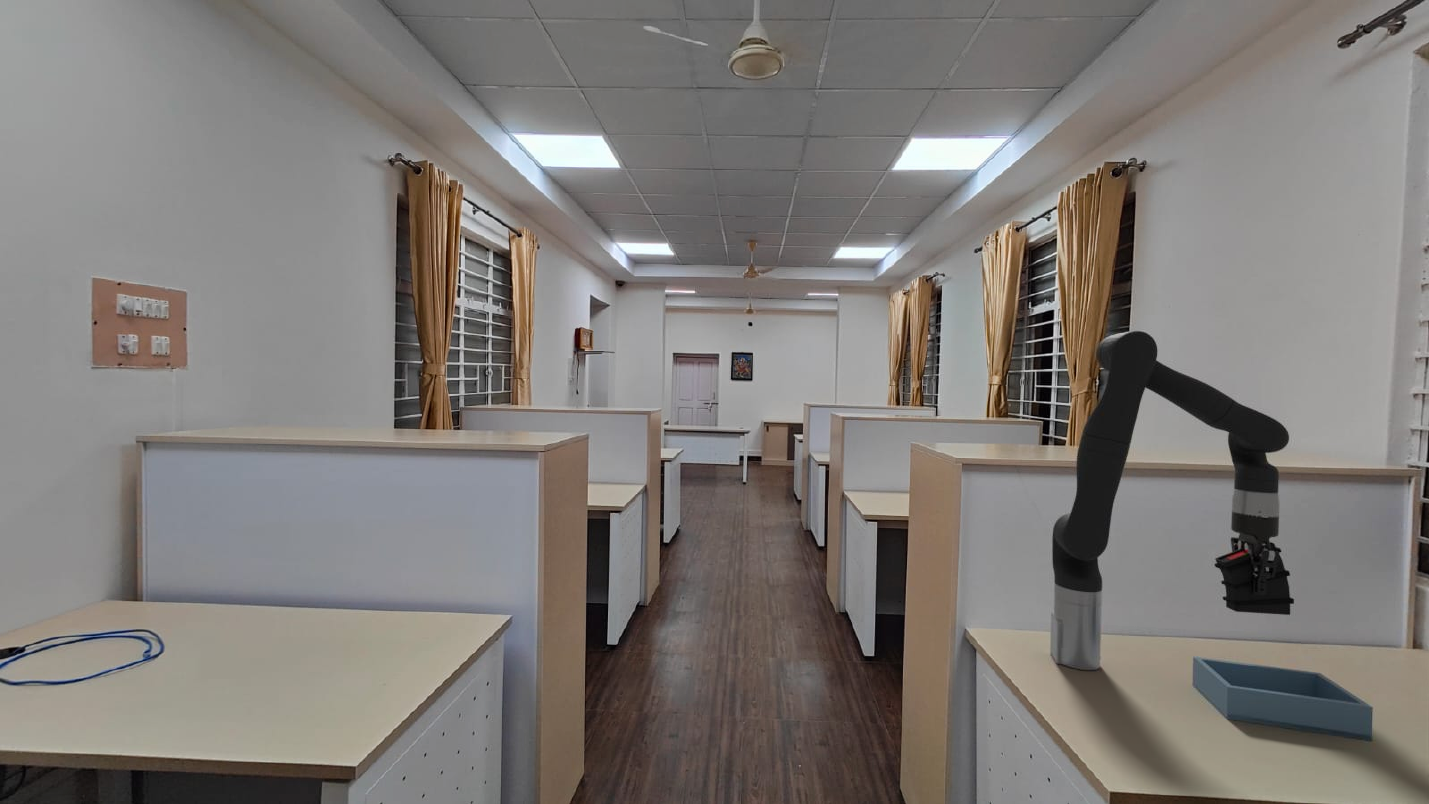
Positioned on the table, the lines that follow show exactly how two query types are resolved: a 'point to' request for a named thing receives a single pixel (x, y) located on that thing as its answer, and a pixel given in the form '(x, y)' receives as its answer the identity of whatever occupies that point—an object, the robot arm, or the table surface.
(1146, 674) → the table surface
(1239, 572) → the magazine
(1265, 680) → the bin
